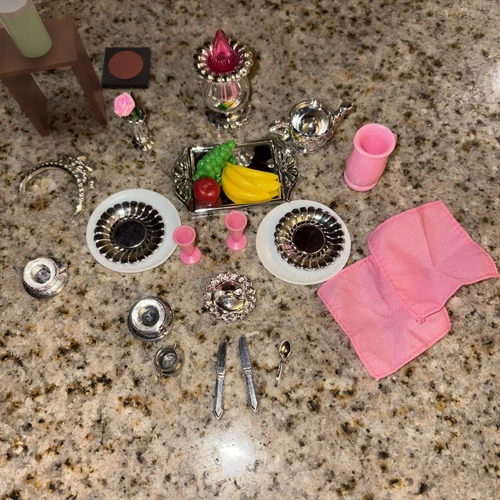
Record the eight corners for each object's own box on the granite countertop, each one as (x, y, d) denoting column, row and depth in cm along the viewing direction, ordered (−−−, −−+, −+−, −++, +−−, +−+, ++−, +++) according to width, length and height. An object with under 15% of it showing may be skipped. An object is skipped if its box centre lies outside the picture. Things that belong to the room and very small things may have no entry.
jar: (14, 58, 86) (-15, 12, 77) (19, 30, 88) (-8, -18, 79) (50, 58, 86) (25, 12, 77) (54, 30, 88) (30, -18, 79)
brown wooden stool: (41, 137, 104) (-4, 74, 85) (38, 98, 107) (-7, 29, 88) (107, 124, 105) (77, 59, 86) (102, 87, 108) (71, 16, 89)
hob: (103, 88, 108) (100, 83, 106) (107, 51, 111) (105, 46, 110) (148, 88, 108) (146, 83, 107) (151, 51, 111) (149, 46, 110)
